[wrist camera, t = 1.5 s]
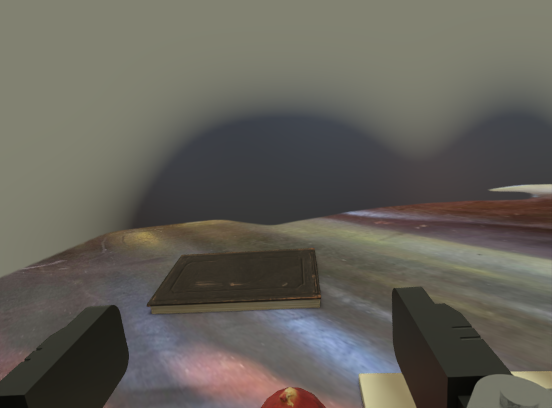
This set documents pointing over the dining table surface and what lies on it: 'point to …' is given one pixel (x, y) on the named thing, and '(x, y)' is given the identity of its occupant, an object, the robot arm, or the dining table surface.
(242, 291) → the hardcover book
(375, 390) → the cradle board
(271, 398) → the onion
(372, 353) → the dining table surface
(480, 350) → the robot arm
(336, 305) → the dining table surface
